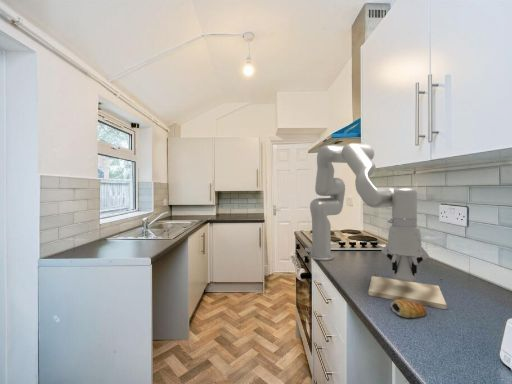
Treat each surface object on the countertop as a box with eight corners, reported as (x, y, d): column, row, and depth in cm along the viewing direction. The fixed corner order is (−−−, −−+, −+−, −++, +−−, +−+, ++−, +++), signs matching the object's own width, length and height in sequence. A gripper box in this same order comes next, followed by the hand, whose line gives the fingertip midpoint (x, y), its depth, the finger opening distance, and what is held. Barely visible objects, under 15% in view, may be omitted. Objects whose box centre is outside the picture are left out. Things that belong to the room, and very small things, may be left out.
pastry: (416, 307, 79) (416, 295, 79) (433, 318, 72) (433, 305, 72) (388, 308, 78) (388, 296, 78) (402, 320, 72) (402, 307, 72)
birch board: (368, 295, 87) (368, 290, 87) (371, 279, 101) (371, 276, 101) (446, 309, 77) (446, 304, 77) (438, 289, 91) (438, 285, 91)
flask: (420, 283, 85) (420, 253, 84) (396, 281, 86) (396, 253, 86) (411, 275, 92) (411, 248, 92) (389, 274, 93) (389, 247, 93)
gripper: (377, 222, 89) (377, 273, 90) (434, 226, 81) (434, 281, 82) (378, 220, 96) (378, 267, 96) (431, 222, 88) (431, 274, 88)
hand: (404, 273), depth 89 cm, fingers closed on flask, 4 cm apart
